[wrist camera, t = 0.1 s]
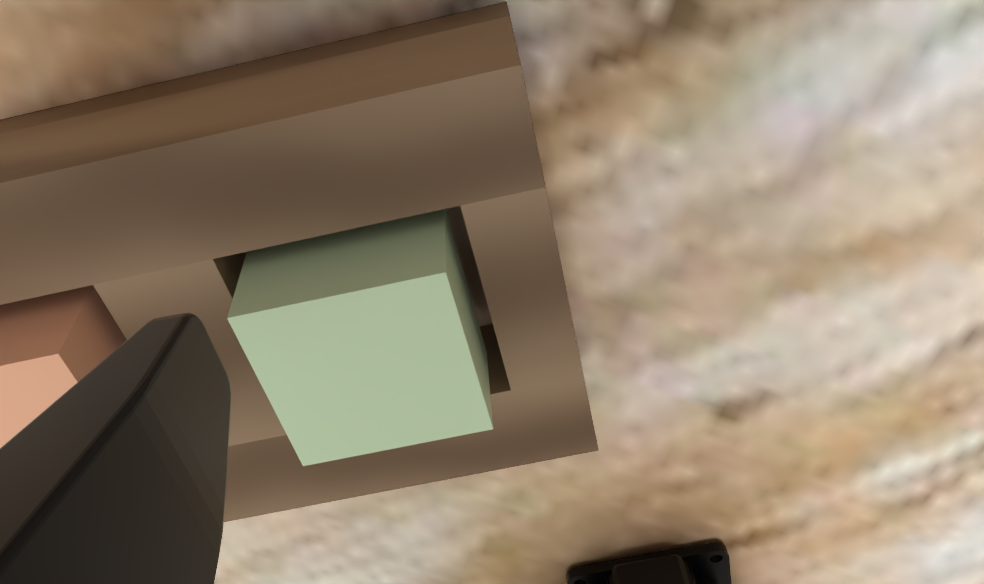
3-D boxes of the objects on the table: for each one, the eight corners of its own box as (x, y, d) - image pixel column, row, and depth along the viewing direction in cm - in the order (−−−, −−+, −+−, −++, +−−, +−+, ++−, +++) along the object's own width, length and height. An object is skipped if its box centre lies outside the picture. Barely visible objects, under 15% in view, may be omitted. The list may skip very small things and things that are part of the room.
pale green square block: (486, 351, 24) (493, 429, 22) (315, 386, 25) (303, 466, 22) (443, 201, 21) (445, 272, 19) (249, 243, 22) (226, 318, 19)
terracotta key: (181, 413, 25) (155, 495, 22) (19, 446, 25) (-24, 529, 23) (98, 276, 22) (58, 353, 19) (-85, 316, 22) (-146, 396, 20)
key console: (578, 359, 28) (598, 450, 25) (-203, 515, 30) (-277, 617, 27) (506, 2, 21) (520, 64, 18) (-507, 238, 23) (-655, 332, 20)
